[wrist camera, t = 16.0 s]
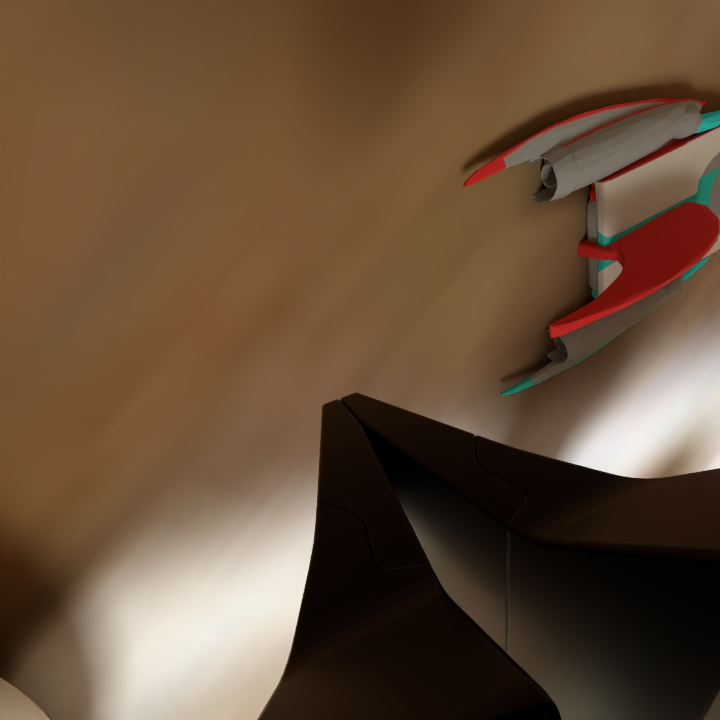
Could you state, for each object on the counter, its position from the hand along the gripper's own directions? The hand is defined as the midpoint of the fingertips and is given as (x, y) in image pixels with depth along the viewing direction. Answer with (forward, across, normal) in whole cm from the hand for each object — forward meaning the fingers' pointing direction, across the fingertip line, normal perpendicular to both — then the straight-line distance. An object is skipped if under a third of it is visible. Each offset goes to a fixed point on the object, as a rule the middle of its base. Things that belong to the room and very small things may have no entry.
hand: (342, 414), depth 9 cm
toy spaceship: (+7, -22, -1) cm, 23 cm away
